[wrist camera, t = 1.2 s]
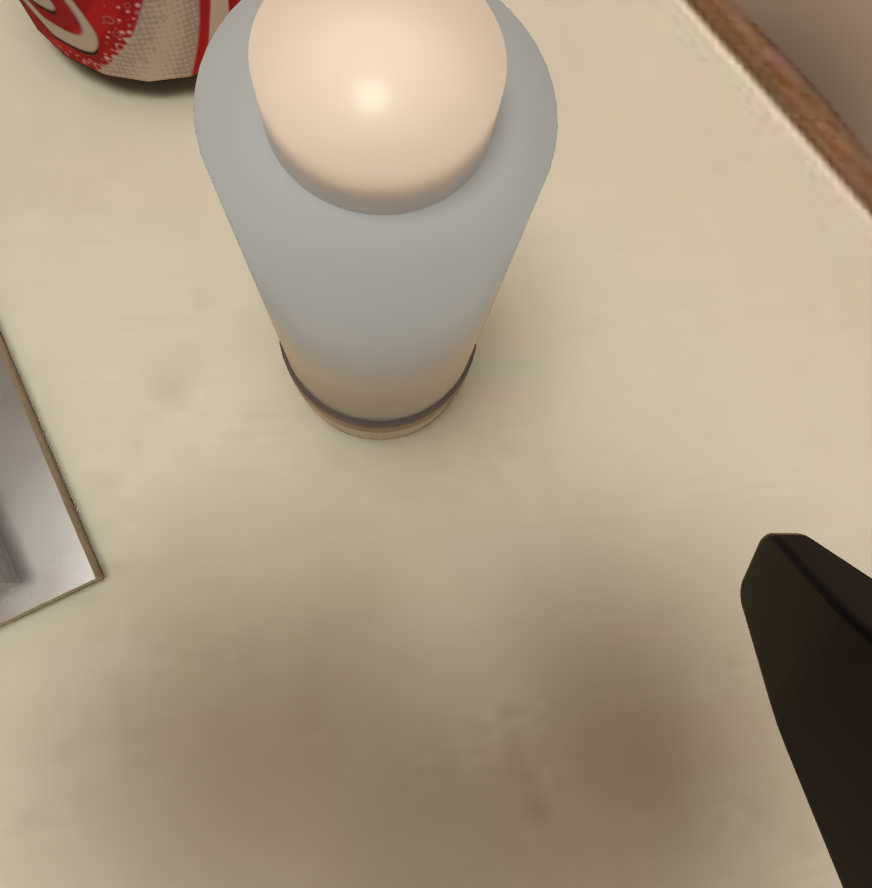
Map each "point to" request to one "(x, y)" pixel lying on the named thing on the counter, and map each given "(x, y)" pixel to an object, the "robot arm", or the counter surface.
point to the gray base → (34, 512)
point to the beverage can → (132, 33)
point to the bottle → (376, 186)
